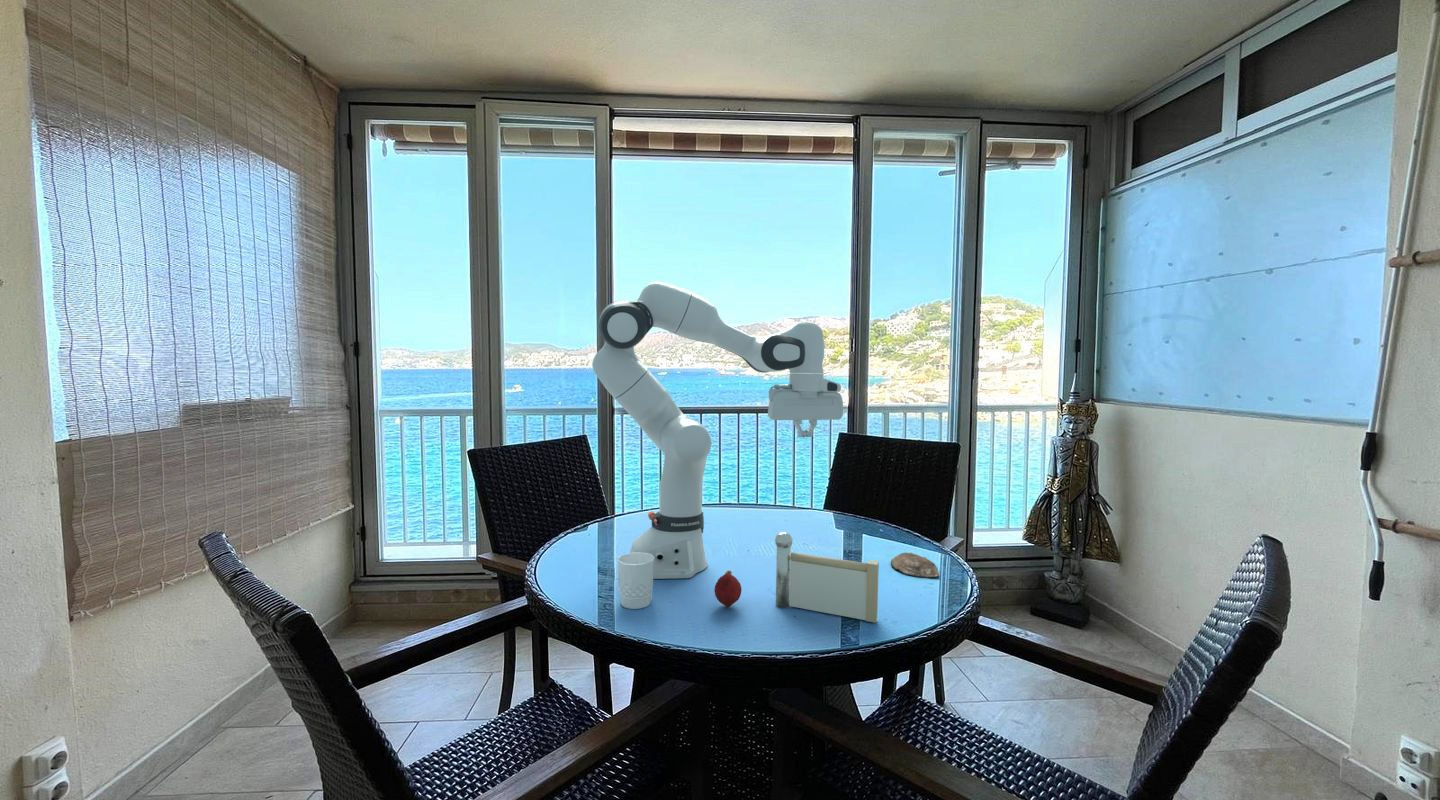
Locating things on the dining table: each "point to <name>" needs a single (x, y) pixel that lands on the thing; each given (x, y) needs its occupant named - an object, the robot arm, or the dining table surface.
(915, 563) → the shell
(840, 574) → the gate leaf
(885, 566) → the dining table surface
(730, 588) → the onion
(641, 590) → the white cup
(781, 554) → the gate post
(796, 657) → the dining table surface
